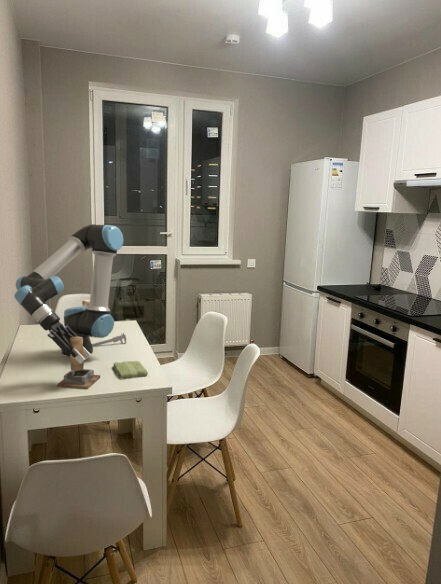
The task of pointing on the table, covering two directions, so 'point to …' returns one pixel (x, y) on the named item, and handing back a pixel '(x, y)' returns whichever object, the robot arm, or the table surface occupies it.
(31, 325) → the table surface
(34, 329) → the table surface
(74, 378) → the socket board
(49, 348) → the table surface
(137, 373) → the washcloth
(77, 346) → the oak pin
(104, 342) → the caliper
